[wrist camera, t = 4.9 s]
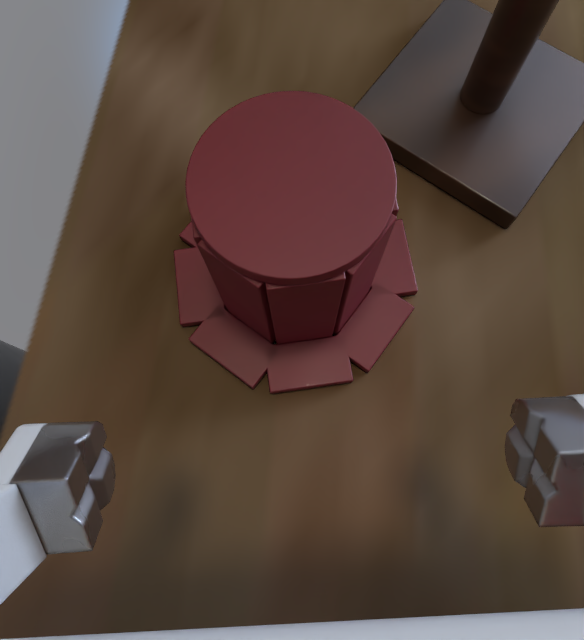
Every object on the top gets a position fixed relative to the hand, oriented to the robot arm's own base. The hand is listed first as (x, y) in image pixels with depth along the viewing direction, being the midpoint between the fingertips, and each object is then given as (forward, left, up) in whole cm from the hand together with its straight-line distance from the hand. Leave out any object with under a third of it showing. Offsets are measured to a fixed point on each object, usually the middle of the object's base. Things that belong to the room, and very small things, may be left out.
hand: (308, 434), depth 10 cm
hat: (-5, +6, -11) cm, 14 cm away
